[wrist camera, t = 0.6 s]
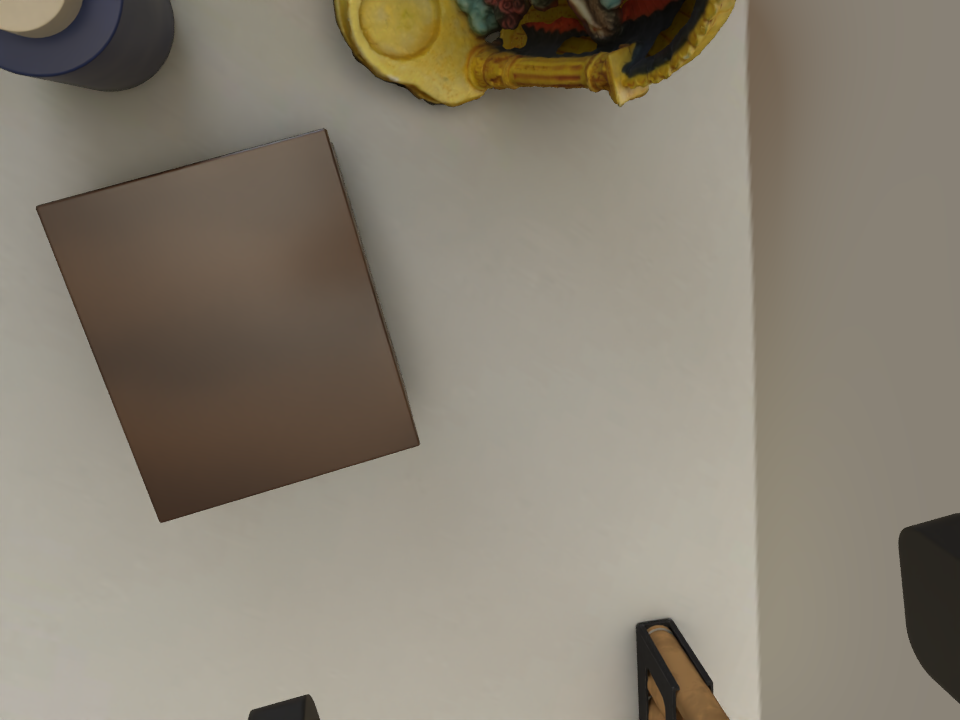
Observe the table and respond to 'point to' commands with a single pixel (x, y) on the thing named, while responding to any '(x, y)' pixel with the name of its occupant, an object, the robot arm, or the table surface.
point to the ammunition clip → (672, 677)
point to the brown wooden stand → (234, 322)
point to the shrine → (527, 43)
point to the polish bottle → (86, 40)
